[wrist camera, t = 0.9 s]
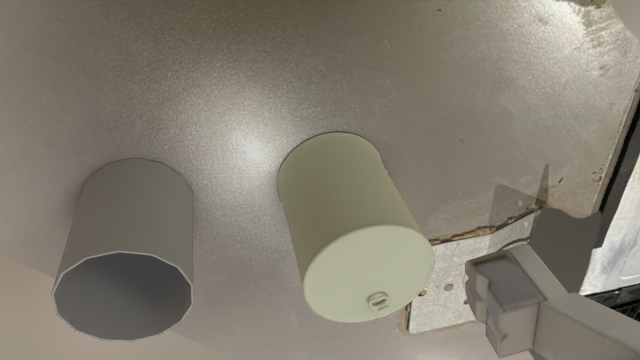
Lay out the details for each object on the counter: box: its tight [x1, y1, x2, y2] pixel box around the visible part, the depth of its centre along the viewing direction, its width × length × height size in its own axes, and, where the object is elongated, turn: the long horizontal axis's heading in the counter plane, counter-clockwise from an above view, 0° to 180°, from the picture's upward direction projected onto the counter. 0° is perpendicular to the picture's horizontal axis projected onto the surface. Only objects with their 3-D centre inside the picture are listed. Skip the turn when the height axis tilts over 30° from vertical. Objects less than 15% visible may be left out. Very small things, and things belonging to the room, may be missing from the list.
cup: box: [51, 158, 193, 342], centre depth 34 cm, size 8×8×10 cm
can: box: [277, 132, 434, 323], centre depth 36 cm, size 9×9×12 cm
